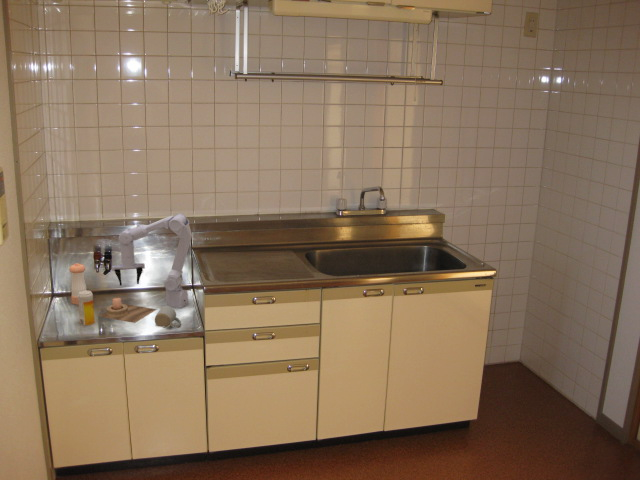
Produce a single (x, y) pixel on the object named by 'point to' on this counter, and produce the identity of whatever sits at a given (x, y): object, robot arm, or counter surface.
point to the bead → (117, 311)
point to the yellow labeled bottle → (86, 307)
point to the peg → (117, 304)
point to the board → (133, 313)
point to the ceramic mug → (166, 317)
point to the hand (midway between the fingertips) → (129, 284)
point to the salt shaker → (77, 281)
